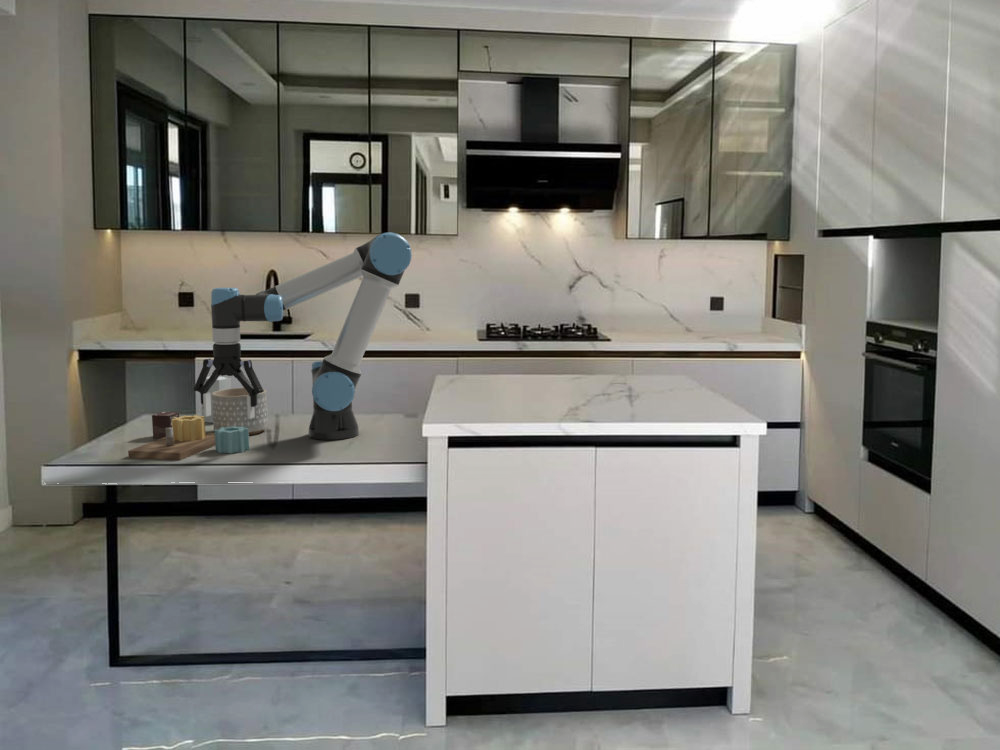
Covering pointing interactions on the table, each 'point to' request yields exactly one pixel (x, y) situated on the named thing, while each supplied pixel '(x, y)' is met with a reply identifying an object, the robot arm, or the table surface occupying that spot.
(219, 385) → the skincare box
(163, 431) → the box
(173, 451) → the gear board
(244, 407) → the planter
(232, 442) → the gear
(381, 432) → the table surface
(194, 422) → the gear out
